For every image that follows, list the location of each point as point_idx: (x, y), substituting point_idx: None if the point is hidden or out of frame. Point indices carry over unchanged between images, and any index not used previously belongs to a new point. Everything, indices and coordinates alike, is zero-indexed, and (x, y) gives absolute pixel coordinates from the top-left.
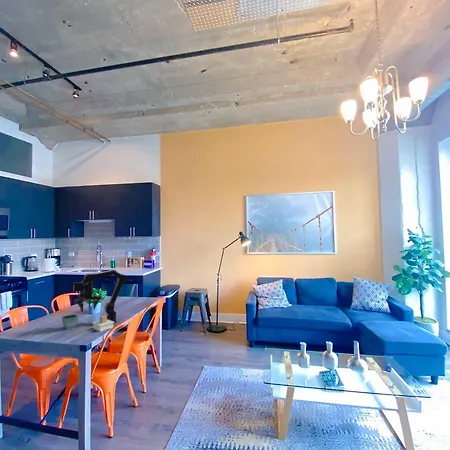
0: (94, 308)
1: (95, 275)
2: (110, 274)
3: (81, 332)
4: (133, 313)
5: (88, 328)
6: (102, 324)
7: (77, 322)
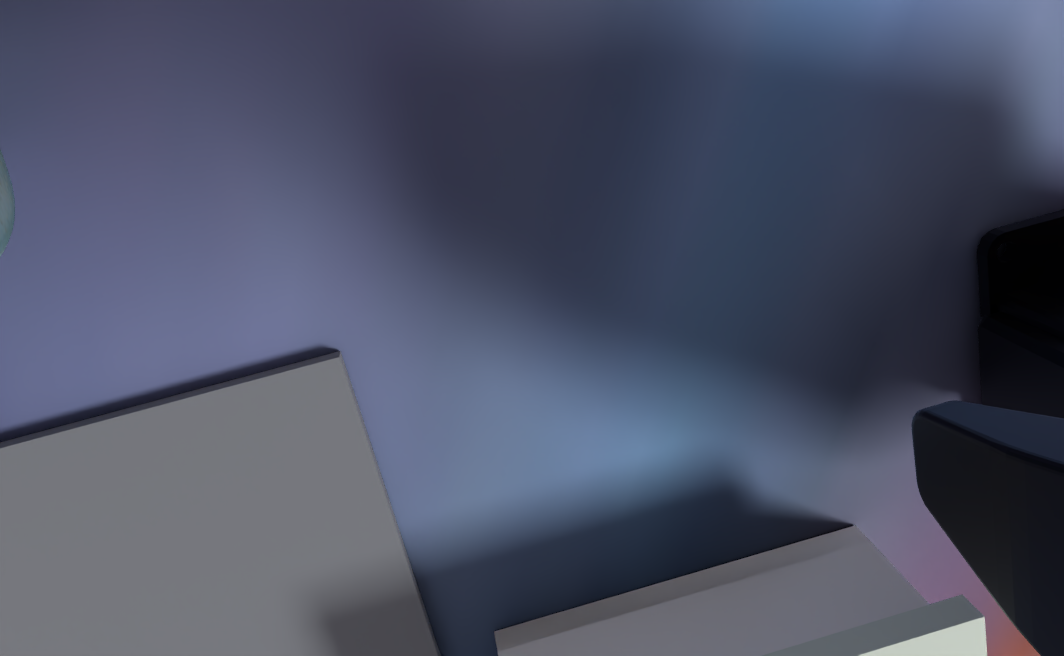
0: (985, 560)
1: None
2: None
3: None
4: None
5: (389, 539)
6: None
7: (6, 245)
